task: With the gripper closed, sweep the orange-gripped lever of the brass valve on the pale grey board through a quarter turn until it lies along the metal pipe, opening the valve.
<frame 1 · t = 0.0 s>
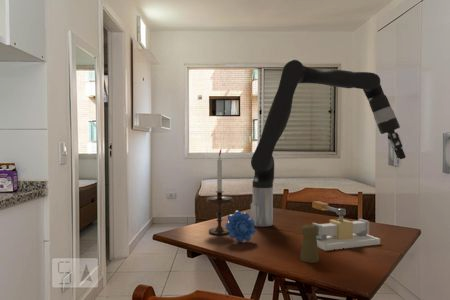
hand: (401, 158, 139), 31 cm above the table, tool tilted 20°, fingers open, 8 cm apart
lever: (328, 208, 139), point 12 cm above the table, hinge at 0.0°
valve: (340, 242, 132), on the table
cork: (309, 260, 113), on the table
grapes: (241, 243, 131), on the table
candlestick: (219, 233, 146), on the table
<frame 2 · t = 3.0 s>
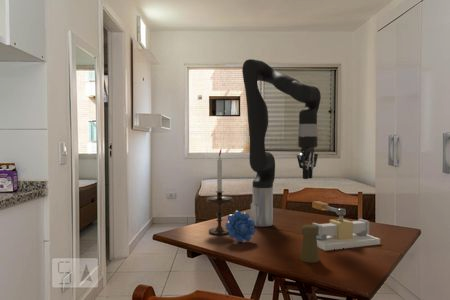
hand: (307, 178, 141), 23 cm above the table, tool pointing down, fingers open, 3 cm apart
nothing on the table moved.
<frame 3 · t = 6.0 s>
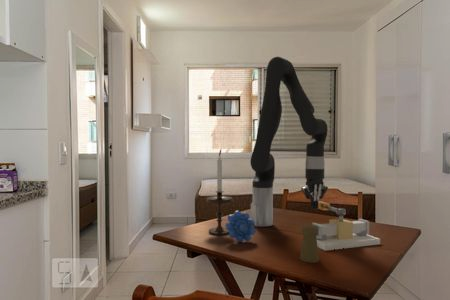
hand: (314, 209, 143), 10 cm above the table, tool pointing down, fingers closed
lever: (329, 208, 139), point 12 cm above the table, hinge at -3.7°, touching gripper
everything else where it was.
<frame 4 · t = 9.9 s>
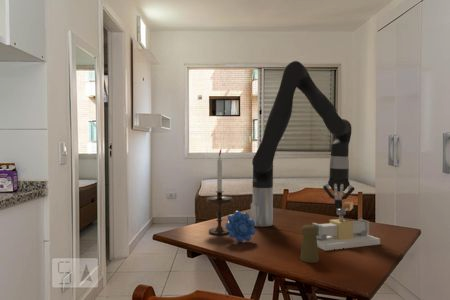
hand: (338, 208, 145), 10 cm above the table, tool pointing down, fingers closed
lever: (345, 208, 138), point 12 cm above the table, hinge at -48.7°, touching gripper
everything else where it was.
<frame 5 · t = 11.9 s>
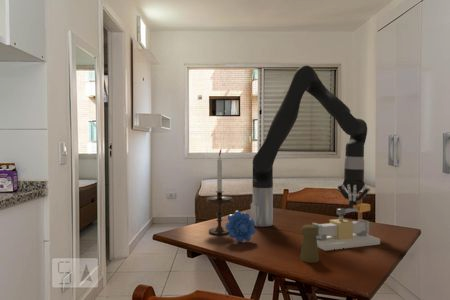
hand: (353, 209, 143), 10 cm above the table, tool pointing down, fingers closed
lever: (353, 209, 136), point 12 cm above the table, hinge at -73.1°, touching gripper
everything else where it was.
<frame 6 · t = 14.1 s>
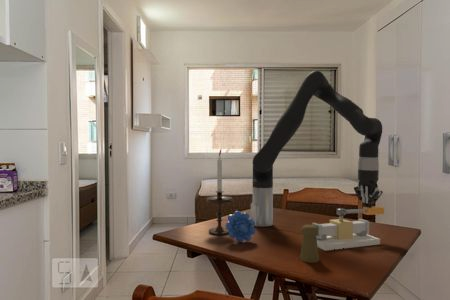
hand: (367, 212, 138), 10 cm above the table, tool pointing down, fingers closed
lever: (359, 211, 133), point 12 cm above the table, hinge at -98.2°, touching gripper
everything else where it was.
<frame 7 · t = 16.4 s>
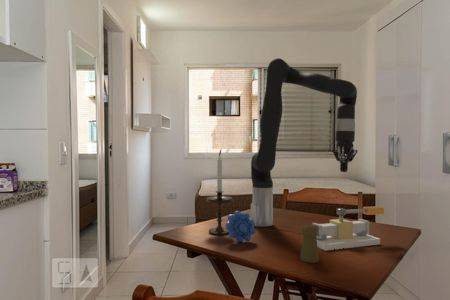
hand: (343, 171, 146), 25 cm above the table, tool pointing down, fingers closed
lever: (359, 211, 133), point 11 cm above the table, hinge at -98.3°
everything else where it was.
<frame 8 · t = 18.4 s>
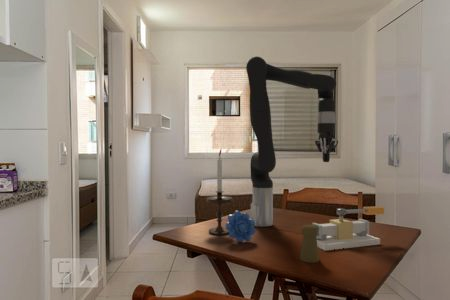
hand: (326, 161, 154), 29 cm above the table, tool pointing down, fingers closed
nothing on the table moved.
at the end: lever at -98° (first picture: +0°); the gripper is holding nothing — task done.
